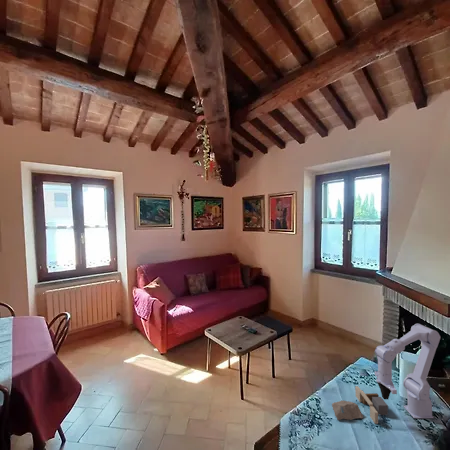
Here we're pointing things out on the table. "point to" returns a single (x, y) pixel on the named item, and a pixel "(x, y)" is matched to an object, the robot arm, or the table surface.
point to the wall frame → (372, 410)
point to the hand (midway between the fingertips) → (385, 398)
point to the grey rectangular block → (380, 405)
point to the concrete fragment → (346, 410)
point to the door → (369, 397)
